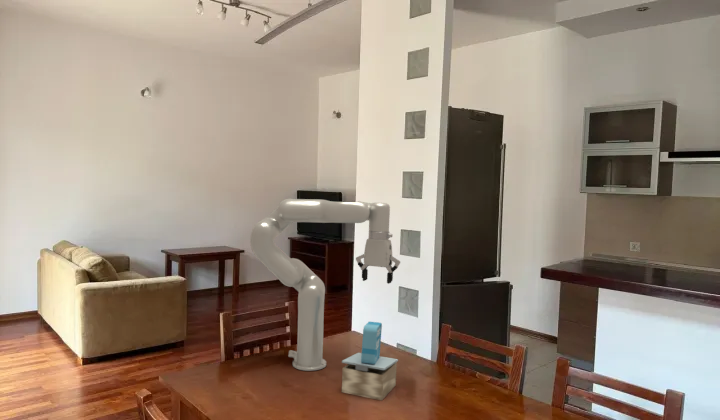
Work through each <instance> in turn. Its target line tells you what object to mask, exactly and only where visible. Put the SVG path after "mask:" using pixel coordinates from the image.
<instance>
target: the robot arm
mask: <svg viewBox="0 0 720 420" xmlns="http://www.w3.org/2000/svg"><path fill="white" fill-rule="evenodd" d="M390 211H391V207H390V205H389V204H388V203H387V202H364V201H360V200H359V201H355V202H353V201H352V202H351V201H350V202H347V201H344V202H343V201H332V200H331V201H330V200H327V199H317V198H316V199H315V198H314V199H311V198H310V199H308V198H307V199H305V198H286V199H283V200H281V201H280V203H279V204H278V206H277V207H276V208H275V209H274V210H272V211H271V212H270V213H269V214H268V215H267V216H266V217H264V218H263V219H262V220H259V221H258V222H256V223H255V224H254V226H253V228H252V230H251V232H250V238H249V244H250V248H251V250H252V252H253V255H254V256H255V258H256V259H257V260H259V262H260V263H262V264H263V265H264V267H265V268H267V270H268V271H269V272H270V273H272V274H273V275H274V276H275V278H277V279H278V280H279V281H280V283H281V284H283V286H287V287H289V288H291V287H292V288H294V289H295V291H297V292H298V294H297V295H298V296H297V341H296V342H297V344H296V345H297V347H296V349H297V350H291V349H290V350H288V355H287V356H288V358H293V360H292V367H293V368H295V369H297V370H299V371H304V372H305V371H306V372H310V371H319V370H322V369H324V368H325V367H326V366H327V360H326V359H324V358H323V354H324V353H323V349H324V348H323V347H324V322H325V321H324V317H325V316H324V315H325V314H324V312H325V294H326V287H325V283H324V281H323V280H322V279H321V278H320V277H319V276H318V274H315V273H314V271H312V270H311V269H310V268H309V267H308V266H307V265H306V264H305V263H304V262H303V261H302V260H300V259H299V258H294V257H292V258H291V257H290V256H289V255H288V254H287V253H285V252H284V250H282V248H280V247H279V246H278V245H277V244H276V242H275V239H276V238H277V237H278V236H280V235H281V234H282V233H283V232H284V231H285V230H287V228H288V227H290V226H291V225H292V224H293V223H320V224H321V223H322V224H325V223H326V224H327V223H334V224H362V223H366V221H368V223H369V224H368V238H367V239H366V242H365V245H364V253H362V254H361V255H359V256H357V257H355V261H356V262H357V265H358V267H359V268H360V270H361V278H362V281H363V282H365V281H367V280H368V275H369V274H368V272H369V270H368V267H378V268H386V270H387V275H386V283H387V284H388V285H389V284H391V283H392V282H393V279H394V278H393V277H394V276H393V275H394V272H395V271H396V270H397V269H398V267H399V266H400V264H401V261H400V260H399V259H397V258H396V257H394V256H393V245H392V241H391V240H392V239H390V238H393V234H392V233H390V218H391V217H390V213H391V212H390ZM362 259H363V262H362ZM393 263H394V265H393V266H392V264H393Z"/></svg>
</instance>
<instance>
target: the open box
mask: <svg viewBox="0 0 720 420" xmlns="http://www.w3.org/2000/svg"><path fill="white" fill-rule="evenodd" d="M397 362H398V361H397ZM397 362H396V363H395V364H393V365H392V366H390V367H389V368H387V369H386V370H379V369H374V368H368V371H362V370H356V369H355V368H356V365H352V364H346V365H345V366H344V367H342V372H341V374H342V376H341V382H342V383H341V393H345V394H350V395H353V396H358V397H363V398H368V399H373V400H377V401H378V400H379V401H383V399H385V397H387V396H388V394H389V393H390V392H391V391H392V390H393V389H394V388H395V386H396V384H397Z"/></svg>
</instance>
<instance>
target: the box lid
mask: <svg viewBox="0 0 720 420" xmlns="http://www.w3.org/2000/svg"><path fill="white" fill-rule="evenodd" d="M361 354H362V352H357V353H355V354H352V355H351V356H349V357H346V358H345V359H342V360H341V364H346V365H347V364H352V365H356V368H355V369H356V370H362V371H368V368H374V369H379V370H386V369H387V368H389V367H390V366H392V365H393V364H395V363H396V362H399V359H397V358H393V357H386V356H379V358H378V360H377V362H376V363H375V364H368V363H362V362H361Z"/></svg>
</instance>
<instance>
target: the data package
mask: <svg viewBox="0 0 720 420" xmlns="http://www.w3.org/2000/svg"><path fill="white" fill-rule="evenodd" d="M382 327H383V325H382V322H377V321H376V322H375V321H368V322H367V323H366V324H365V325H364V326H363V329H362V340H361V341H362V343H361V353H362V354H361V362H362V363H368V364H375V363H376V362H377V360H378V358H379V356H380V353H381V344H382Z"/></svg>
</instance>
